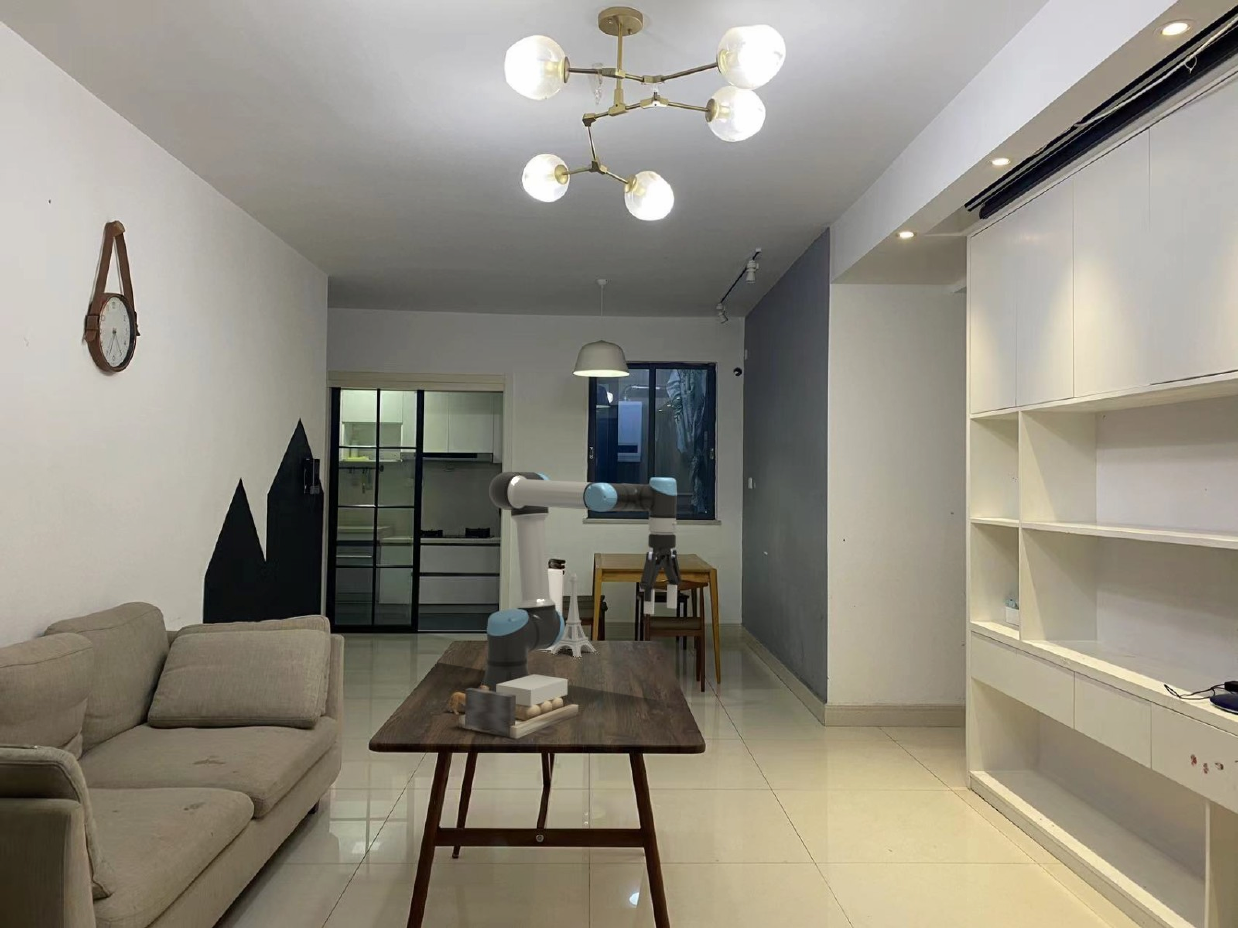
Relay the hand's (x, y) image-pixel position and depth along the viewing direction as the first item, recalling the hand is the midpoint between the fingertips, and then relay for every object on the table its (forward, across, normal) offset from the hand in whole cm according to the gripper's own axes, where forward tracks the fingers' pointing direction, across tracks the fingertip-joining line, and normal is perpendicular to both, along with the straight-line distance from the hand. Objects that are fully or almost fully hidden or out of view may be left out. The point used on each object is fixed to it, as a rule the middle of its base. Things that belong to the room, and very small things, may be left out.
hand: (660, 611), depth 232 cm
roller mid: (+25, -29, +23) cm, 45 cm away
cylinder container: (+27, +50, +72) cm, 92 cm away
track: (+26, -32, +23) cm, 47 cm away
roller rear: (+25, -24, +23) cm, 42 cm away
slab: (+21, -27, +23) cm, 42 cm away
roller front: (+25, -34, +23) cm, 48 cm away
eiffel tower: (+27, +49, +60) cm, 82 cm away
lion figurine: (+27, -34, +39) cm, 58 cm away
